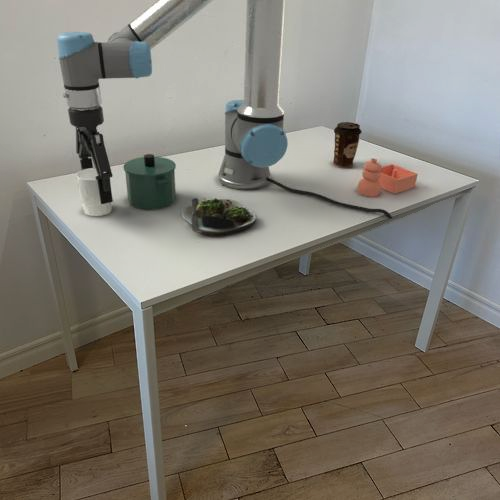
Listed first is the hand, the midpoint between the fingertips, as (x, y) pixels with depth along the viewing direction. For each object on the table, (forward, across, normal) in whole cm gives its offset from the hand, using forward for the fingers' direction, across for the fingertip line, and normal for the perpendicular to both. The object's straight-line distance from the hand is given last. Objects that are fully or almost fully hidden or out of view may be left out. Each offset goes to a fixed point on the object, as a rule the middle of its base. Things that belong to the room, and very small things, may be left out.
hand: (97, 192), depth 125 cm
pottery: (+7, +24, +75) cm, 79 cm away
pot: (+5, 0, +14) cm, 15 cm away
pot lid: (-4, 0, +14) cm, 15 cm away
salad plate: (+6, +20, +23) cm, 31 cm away
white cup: (+5, 0, -1) cm, 5 cm away
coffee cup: (+7, +4, +78) cm, 79 cm away
